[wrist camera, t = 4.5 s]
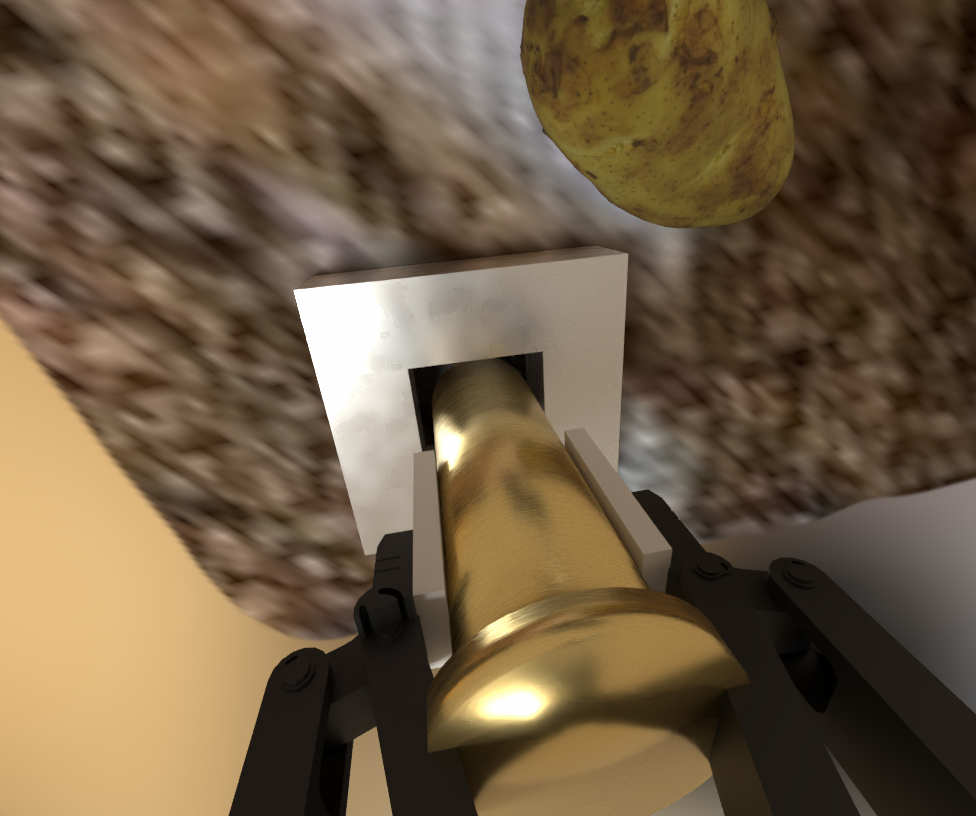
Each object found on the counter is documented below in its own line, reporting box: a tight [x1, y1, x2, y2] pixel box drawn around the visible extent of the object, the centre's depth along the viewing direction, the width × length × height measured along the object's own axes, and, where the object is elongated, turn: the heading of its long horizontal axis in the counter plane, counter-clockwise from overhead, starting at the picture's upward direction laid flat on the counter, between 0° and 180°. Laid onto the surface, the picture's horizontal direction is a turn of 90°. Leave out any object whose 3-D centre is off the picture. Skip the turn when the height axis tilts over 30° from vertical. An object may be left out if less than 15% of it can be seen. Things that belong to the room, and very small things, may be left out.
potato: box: [520, 0, 795, 228], centre depth 17 cm, size 8×13×8 cm, turn 41°
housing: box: [294, 245, 628, 555], centre depth 23 cm, size 14×14×4 cm
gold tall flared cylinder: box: [426, 358, 751, 816], centre depth 16 cm, size 6×6×16 cm
